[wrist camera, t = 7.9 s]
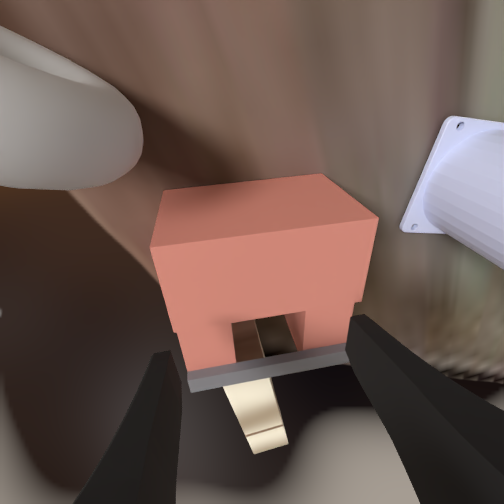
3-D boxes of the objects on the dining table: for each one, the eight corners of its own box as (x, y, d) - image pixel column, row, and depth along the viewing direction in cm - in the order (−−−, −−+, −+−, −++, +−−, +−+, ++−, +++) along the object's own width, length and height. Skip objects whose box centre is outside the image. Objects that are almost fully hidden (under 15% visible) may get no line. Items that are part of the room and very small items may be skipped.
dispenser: (163, 190, 17) (149, 247, 12) (321, 173, 19) (378, 217, 13) (191, 312, 23) (191, 392, 17) (311, 293, 24) (348, 362, 18)
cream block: (213, 317, 24) (218, 377, 19) (251, 307, 24) (265, 363, 19) (244, 396, 30) (253, 454, 26) (273, 387, 30) (288, 444, 26)
